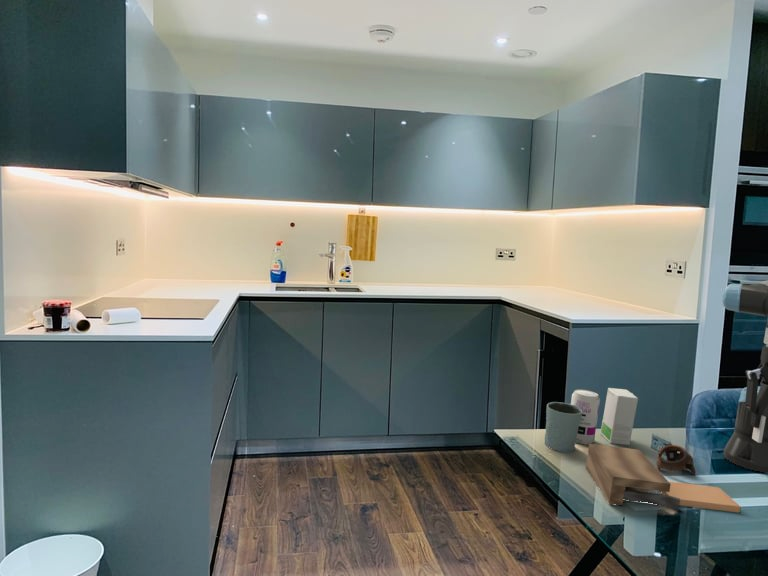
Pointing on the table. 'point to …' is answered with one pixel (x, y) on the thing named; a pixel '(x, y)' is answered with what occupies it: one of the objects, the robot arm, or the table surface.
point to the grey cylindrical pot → (562, 426)
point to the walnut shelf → (627, 476)
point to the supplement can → (586, 414)
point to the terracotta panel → (702, 497)
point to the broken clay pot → (675, 459)
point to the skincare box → (619, 416)
